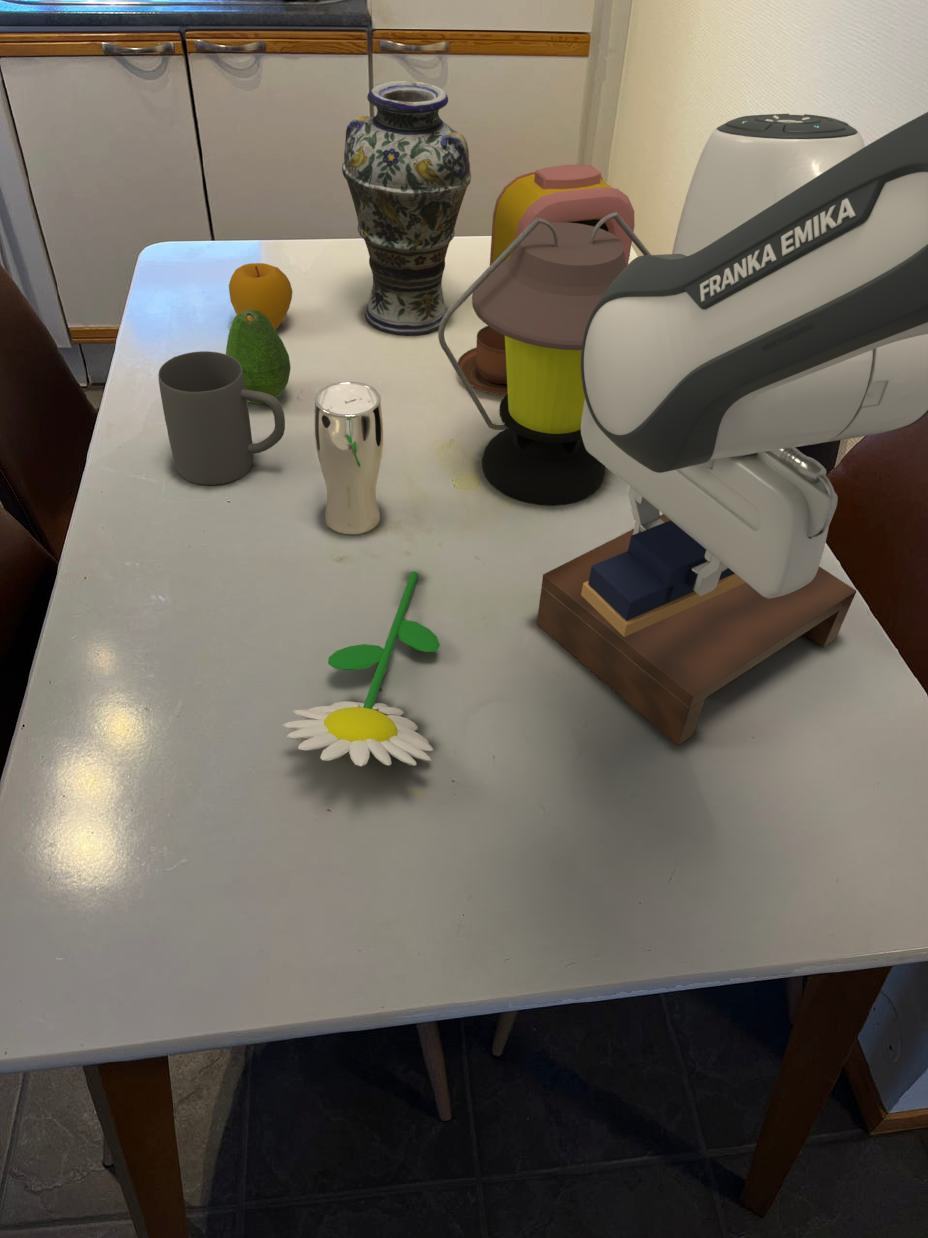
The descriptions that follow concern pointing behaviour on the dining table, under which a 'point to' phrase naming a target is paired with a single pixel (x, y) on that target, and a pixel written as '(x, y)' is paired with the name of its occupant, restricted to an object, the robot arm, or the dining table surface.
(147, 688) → the dining table surface
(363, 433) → the beer glass
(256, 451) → the mug
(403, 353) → the dining table surface
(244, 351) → the fruit
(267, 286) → the apple
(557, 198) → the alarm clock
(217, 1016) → the dining table surface
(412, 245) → the vase
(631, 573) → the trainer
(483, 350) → the cup and saucer
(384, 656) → the decorative flower
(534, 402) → the lantern
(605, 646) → the brown wooden stand
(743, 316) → the robot arm
